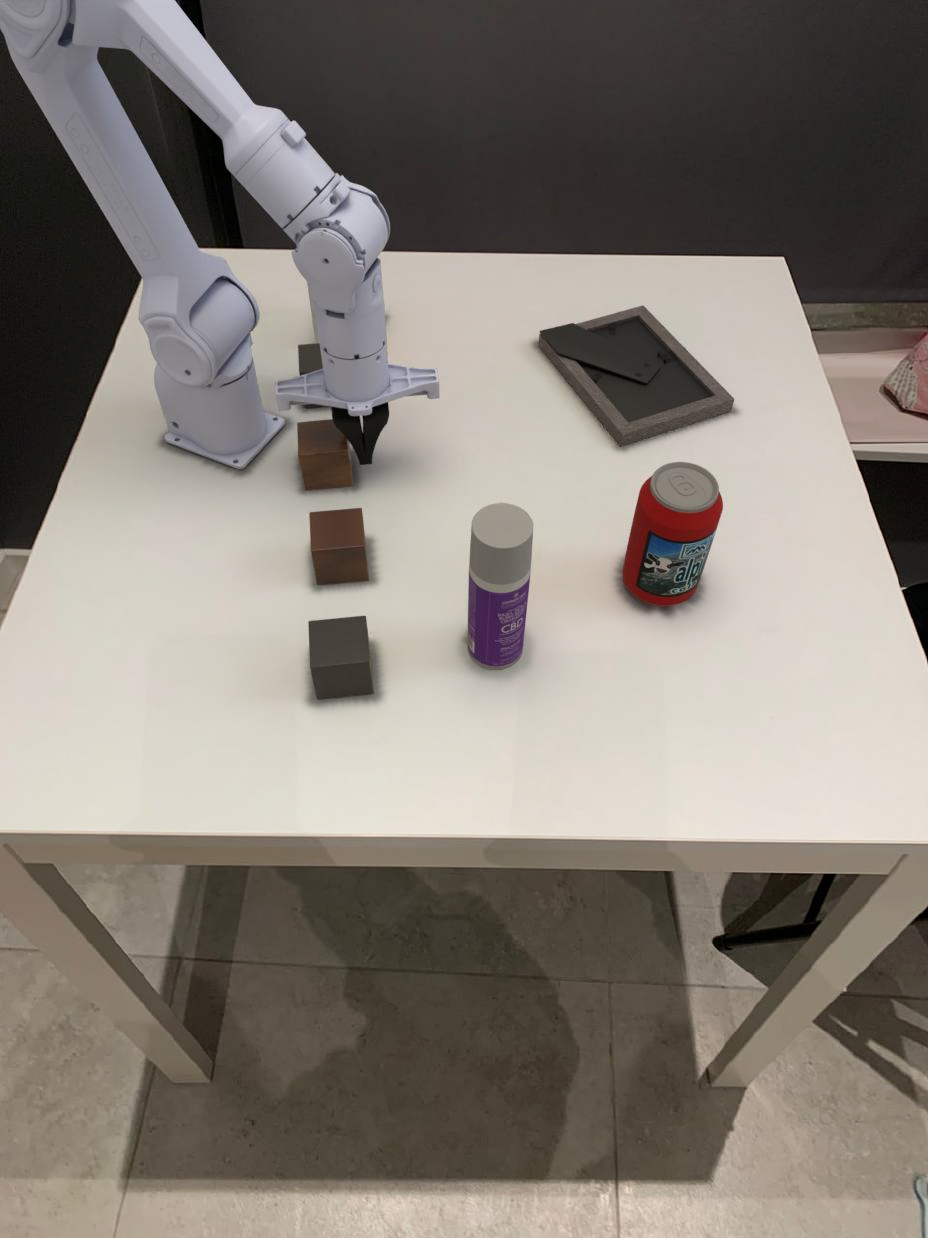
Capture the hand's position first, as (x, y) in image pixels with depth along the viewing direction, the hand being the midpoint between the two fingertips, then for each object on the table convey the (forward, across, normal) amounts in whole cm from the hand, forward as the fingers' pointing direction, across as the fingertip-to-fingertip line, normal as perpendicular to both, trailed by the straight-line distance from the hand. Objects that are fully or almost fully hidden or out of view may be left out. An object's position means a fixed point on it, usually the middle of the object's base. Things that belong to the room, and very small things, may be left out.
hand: (365, 457), depth 90 cm
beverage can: (+2, +25, -18) cm, 30 cm away
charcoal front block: (+2, -3, -24) cm, 24 cm away
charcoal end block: (+1, -3, +12) cm, 13 cm away
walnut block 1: (+1, -4, 0) cm, 4 cm away
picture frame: (+2, +29, +11) cm, 31 cm away
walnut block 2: (+1, -3, -12) cm, 12 cm away
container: (+2, +9, -23) cm, 25 cm away
